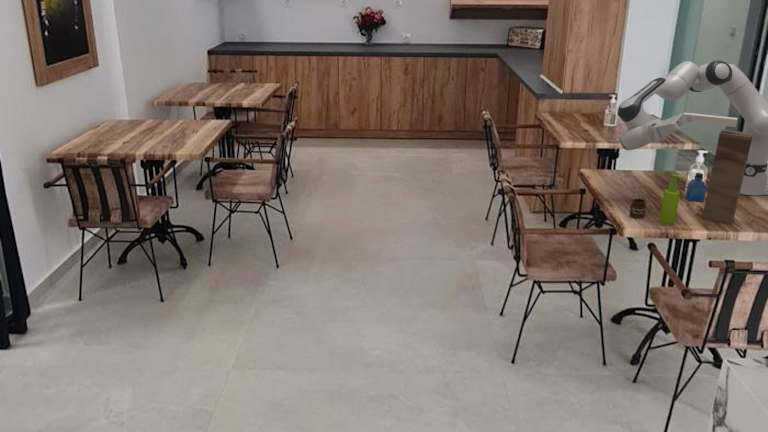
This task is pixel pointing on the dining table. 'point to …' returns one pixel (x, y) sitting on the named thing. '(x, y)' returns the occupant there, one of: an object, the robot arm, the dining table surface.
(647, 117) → the robot arm
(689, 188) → the perfume bottle
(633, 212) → the utensil holder
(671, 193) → the soap dispenser
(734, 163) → the stand
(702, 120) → the rod
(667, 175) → the dining table surface
